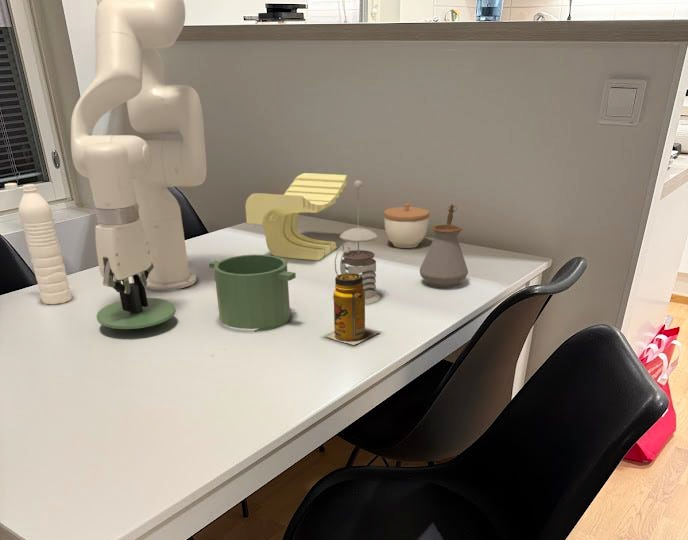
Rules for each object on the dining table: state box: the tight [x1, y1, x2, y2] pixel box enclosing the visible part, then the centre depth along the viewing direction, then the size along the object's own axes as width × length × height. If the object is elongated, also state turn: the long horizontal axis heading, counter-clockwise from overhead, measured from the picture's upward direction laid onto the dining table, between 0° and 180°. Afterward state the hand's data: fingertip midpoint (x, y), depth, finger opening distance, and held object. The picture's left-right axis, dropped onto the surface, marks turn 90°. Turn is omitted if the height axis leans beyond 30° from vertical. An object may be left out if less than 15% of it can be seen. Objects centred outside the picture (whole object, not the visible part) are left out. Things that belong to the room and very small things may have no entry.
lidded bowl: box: [383, 203, 431, 249], centre depth 189 cm, size 13×13×11 cm
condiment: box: [325, 272, 380, 346], centre depth 132 cm, size 7×8×12 cm
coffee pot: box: [419, 204, 469, 289], centre depth 162 cm, size 21×12×15 cm, turn 168°
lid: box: [96, 282, 177, 330], centre depth 137 cm, size 16×16×7 cm
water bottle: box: [4, 182, 73, 305], centre depth 149 cm, size 9×6×25 cm
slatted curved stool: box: [245, 172, 348, 261], centre depth 183 cm, size 30×16×18 cm, turn 159°
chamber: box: [208, 254, 297, 332], centre depth 141 cm, size 15×20×12 cm
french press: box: [334, 179, 381, 305], centre depth 147 cm, size 10×12×25 cm
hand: (135, 307), depth 137 cm, fingers closed on lid, 2 cm apart
